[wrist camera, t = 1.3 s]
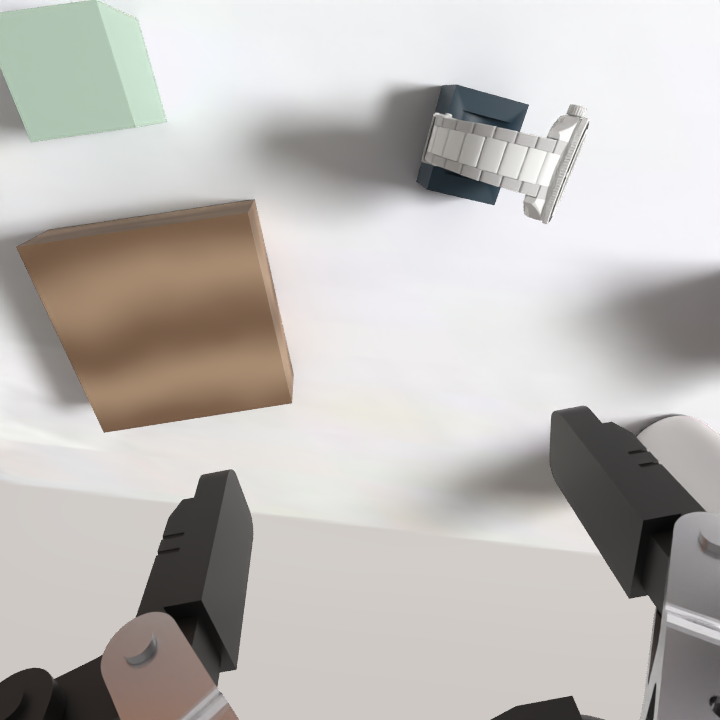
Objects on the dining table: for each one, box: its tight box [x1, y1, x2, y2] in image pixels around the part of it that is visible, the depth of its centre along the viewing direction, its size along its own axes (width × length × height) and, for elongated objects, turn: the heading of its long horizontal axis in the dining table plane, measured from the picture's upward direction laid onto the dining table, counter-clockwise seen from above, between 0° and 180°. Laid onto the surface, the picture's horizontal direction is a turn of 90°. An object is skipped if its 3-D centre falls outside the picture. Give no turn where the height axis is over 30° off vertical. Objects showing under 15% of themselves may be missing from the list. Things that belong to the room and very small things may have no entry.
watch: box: [417, 85, 589, 224], centre depth 26 cm, size 6×8×11 cm
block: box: [0, 0, 167, 142], centre depth 25 cm, size 5×5×6 cm
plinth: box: [16, 199, 293, 433], centre depth 32 cm, size 13×13×4 cm
